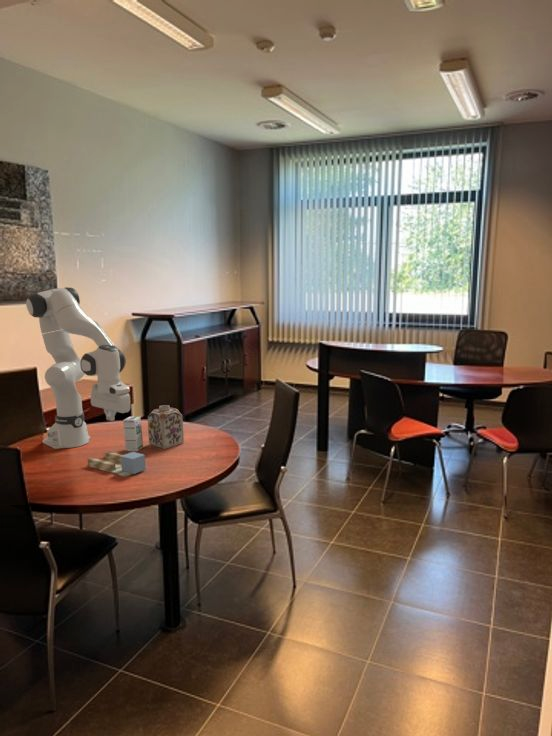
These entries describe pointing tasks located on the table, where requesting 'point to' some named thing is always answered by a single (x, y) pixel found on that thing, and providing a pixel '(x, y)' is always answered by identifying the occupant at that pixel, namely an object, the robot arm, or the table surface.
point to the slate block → (133, 462)
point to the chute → (109, 464)
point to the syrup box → (133, 433)
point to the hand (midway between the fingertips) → (110, 420)
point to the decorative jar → (165, 427)
